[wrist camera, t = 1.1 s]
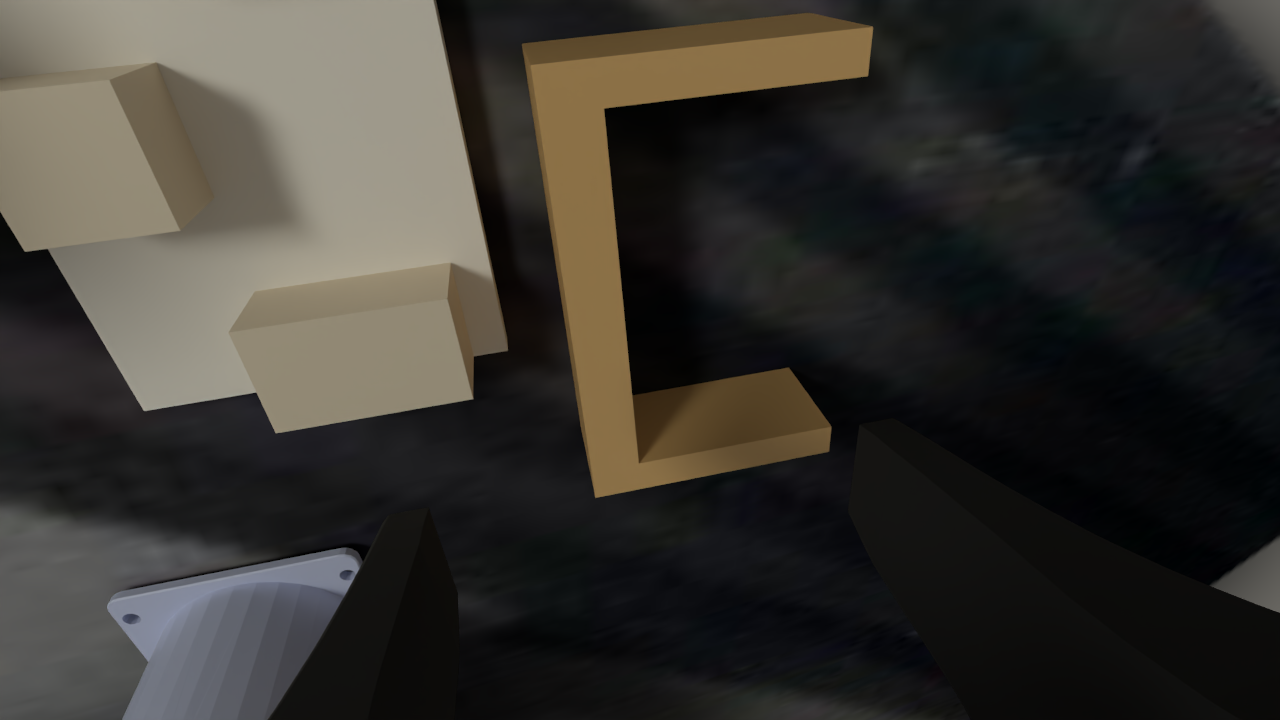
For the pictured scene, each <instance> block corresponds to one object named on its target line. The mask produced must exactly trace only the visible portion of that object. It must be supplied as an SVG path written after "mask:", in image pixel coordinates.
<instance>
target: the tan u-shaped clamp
mask: <svg viewBox="0 0 1280 720" xmlns="http://www.w3.org/2000/svg"><path fill="white" fill-rule="evenodd" d="M872 33H873V27H872V26H867V25H863V24H858V23H853V22H849V21H844V20H840V19H835V18H831V17H826V16H821V15H817V14H812V13H802V14H793V15H784V16H774V17H765V18H756V19H746V20H737V21H728V22H719V23H709V24H700V25H691V26H681V27H672V28H663V29H654V30H644V31H635V32H626V33H616V34H607V35H598V36H588V37H579V38H570V39H561V40H551V41H542V42H533V43H523V44H522V48H523V54H524V61H525V67H526V74H527V80H528V87H529V93H530V100H531V106H532V113H533V119H534V125H535V132H536V138H537V145H538V151H539V158H540V164H541V171H542V177H543V184H544V190H545V197H546V203H547V210H548V216H549V223H550V229H551V236H552V242H553V249H554V255H555V262H556V268H557V275H558V281H559V288H560V294H561V301H562V307H563V314H564V320H565V327H566V333H567V340H568V346H569V353H570V359H571V365H572V372H573V378H574V385H575V391H576V398H577V404H578V411H579V417H580V424H581V430H582V435H583V440H584V444H585V449H586V454H587V459H588V464H589V469H590V473H591V478H592V483H593V488H594V493H595V497H596V498H597V497H602V496H607V495H612V494H617V493H622V492H627V491H632V490H637V489H642V488H647V487H652V486H658V485H663V484H668V483H673V482H678V481H683V480H688V479H693V478H698V477H703V476H708V475H713V474H718V473H723V472H729V471H734V470H739V469H744V468H749V467H754V466H759V465H764V464H769V463H774V462H779V461H784V460H789V459H794V458H799V457H805V456H810V455H815V454H820V453H825V452H829V446H830V437H831V425H830V424H829V422H828V421H827V420H826V418H825V417H824V416H823V414H822V413H821V411H820V410H819V409H818V407H817V406H816V404H815V403H814V402H813V400H812V399H811V398H810V396H809V395H808V393H807V392H806V391H805V389H804V388H803V386H802V385H801V384H800V382H799V381H798V380H797V378H796V377H795V375H794V374H793V373H792V371H791V370H790V369H789V368H784V369H778V370H772V371H767V372H761V373H756V374H750V375H744V376H739V377H733V378H728V379H722V380H716V381H711V382H705V383H700V384H694V385H688V386H683V387H677V388H672V389H666V390H660V391H655V392H649V393H644V394H638V395H632V388H631V378H630V368H629V357H628V347H627V337H626V327H625V317H624V306H623V296H622V286H621V276H620V266H619V256H618V245H617V235H616V225H615V215H614V205H613V194H612V184H611V174H610V164H609V154H608V143H607V133H606V123H605V113H604V108H612V107H620V106H628V105H636V104H645V103H653V102H661V101H669V100H677V99H686V98H694V97H702V96H710V95H718V94H727V93H735V92H743V91H751V90H759V89H768V88H776V87H784V86H792V85H800V84H809V83H817V82H825V81H833V80H842V79H850V78H858V77H866V76H868V72H869V62H870V52H871V43H872Z"/></svg>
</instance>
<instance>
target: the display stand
mask: <svg viewBox="0 0 1280 720" xmlns="http://www.w3.org/2000/svg"><path fill="white" fill-rule="evenodd" d="M0 212H1V214H2V215H3V217H4V219H5V220H6V222H7V224H8V225H9V227H10V228H11V230H12V232H13V233H14V235H15V237H16V238H17V240H18V241H19V243H20V245H21V246H22V248H23V249H24V251H25V252H27V251H34V250H42V249H48V250H49V252H50V254H51V255H52V257H53V259H54V261H55V262H56V264H57V266H58V267H59V269H60V271H61V272H62V274H63V276H64V277H65V279H66V281H67V282H68V284H69V286H70V287H71V289H72V291H73V292H74V294H75V296H76V298H77V299H78V301H79V303H80V304H81V306H82V308H83V309H84V311H85V313H86V314H87V316H88V318H89V319H90V321H91V323H92V324H93V326H94V328H95V329H96V331H97V333H98V334H99V336H100V338H101V340H102V341H103V343H104V345H105V346H106V348H107V350H108V351H109V353H110V355H111V356H112V358H113V360H114V361H115V363H116V365H117V366H118V368H119V370H120V371H121V373H122V375H123V377H124V378H125V380H126V382H127V383H128V385H129V387H130V388H131V390H132V392H133V393H134V395H135V397H136V398H137V400H138V402H139V403H140V405H141V407H142V408H143V410H144V411H147V410H154V409H160V408H166V407H172V406H178V405H184V404H190V403H196V402H202V401H208V400H214V399H220V398H226V397H232V396H238V395H244V394H250V393H256V392H257V394H258V397H259V399H260V401H261V403H262V405H263V407H264V409H265V411H266V414H267V416H268V418H269V420H270V422H271V424H272V426H273V428H274V430H275V433H281V432H287V431H292V430H298V429H304V428H310V427H315V426H321V425H327V424H333V423H338V422H344V421H350V420H356V419H361V418H367V417H373V416H379V415H384V414H390V413H396V412H402V411H407V410H413V409H419V408H425V407H430V406H436V405H442V404H448V403H453V402H459V401H465V400H471V399H473V374H474V356H479V355H485V354H491V353H497V352H503V351H508V343H507V334H506V330H505V325H504V320H503V315H502V311H501V306H500V301H499V296H498V292H497V287H496V282H495V278H494V273H493V268H492V263H491V259H490V254H489V249H488V244H487V240H486V235H485V230H484V225H483V221H482V216H481V211H480V206H479V202H478V197H477V192H476V187H475V183H474V178H473V173H472V168H471V164H470V159H469V154H468V149H467V145H466V140H465V135H464V130H463V126H462V121H461V116H460V112H459V107H458V102H457V97H456V93H455V88H454V83H453V78H452V74H451V69H450V64H449V59H448V55H447V50H446V45H445V40H444V36H443V31H442V26H441V21H440V17H439V12H438V7H437V2H436V0H0Z"/></svg>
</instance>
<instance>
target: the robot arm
mask: <svg viewBox="0 0 1280 720" xmlns="http://www.w3.org/2000/svg"><path fill="white" fill-rule="evenodd" d="M848 512H849V514H850V517H851V519H852V521H853V523H854V525H855V527H856V530H857V532H858V534H859V536H860V538H861V540H862V542H863V544H864V546H865V548H866V550H867V552H868V554H869V557H870V559H871V561H872V563H873V564H874V566H875V568H876V569H877V571H878V572H879V574H880V576H881V577H882V579H883V580H884V582H885V584H886V585H887V587H888V588H889V590H890V591H891V593H892V594H893V596H894V598H895V599H896V601H897V602H898V604H899V605H900V607H901V609H902V610H903V612H904V613H905V615H906V616H907V618H908V619H909V621H910V622H911V624H912V625H913V627H914V629H915V630H916V632H917V633H918V635H919V636H920V638H921V639H922V641H923V642H924V644H925V645H926V647H927V649H928V650H929V652H930V653H931V655H932V656H933V658H934V659H935V661H936V662H937V664H938V665H939V667H940V669H941V670H942V672H943V673H944V675H945V676H946V678H947V679H948V681H949V683H950V684H951V686H952V688H953V689H954V691H955V693H956V694H957V696H958V698H959V699H960V701H961V703H962V704H963V706H964V708H965V710H966V711H967V713H968V715H969V717H970V719H971V720H1280V613H1278V612H1276V611H1273V610H1270V609H1267V608H1265V607H1262V606H1259V605H1256V604H1254V603H1252V602H1249V601H1246V600H1244V599H1241V598H1239V597H1236V596H1234V595H1231V594H1228V593H1226V592H1224V591H1221V590H1218V589H1216V588H1214V587H1211V586H1208V585H1206V584H1203V583H1201V582H1198V581H1196V580H1194V579H1191V578H1189V577H1187V576H1184V575H1182V574H1180V573H1177V572H1175V571H1172V570H1170V569H1168V568H1166V567H1163V566H1161V565H1159V564H1157V563H1155V562H1152V561H1150V560H1148V559H1146V558H1144V557H1142V556H1139V555H1137V554H1135V553H1133V552H1131V551H1129V550H1126V549H1124V548H1122V547H1120V546H1118V545H1116V544H1113V543H1111V542H1109V541H1107V540H1105V539H1103V538H1101V537H1099V536H1097V535H1095V534H1093V533H1091V532H1089V531H1087V530H1085V529H1083V528H1082V527H1080V526H1078V525H1076V524H1074V523H1072V522H1070V521H1068V520H1066V519H1065V518H1063V517H1061V516H1059V515H1057V514H1055V513H1053V512H1051V511H1049V510H1048V509H1046V508H1044V507H1042V506H1040V505H1039V504H1037V503H1035V502H1033V501H1031V500H1030V499H1028V498H1026V497H1024V496H1022V495H1021V494H1019V493H1017V492H1016V491H1014V490H1012V489H1010V488H1009V487H1007V486H1005V485H1003V484H1002V483H1000V482H998V481H997V480H995V479H993V478H992V477H990V476H988V475H987V474H985V473H983V472H982V471H980V470H978V469H977V468H975V467H973V466H972V465H970V464H968V463H967V462H965V461H963V460H962V459H960V458H959V457H957V456H955V455H954V454H952V453H950V452H949V451H947V450H946V449H944V448H942V447H941V446H939V445H937V444H936V443H934V442H933V441H931V440H929V439H928V438H926V437H924V436H923V435H921V434H919V433H918V432H916V431H914V430H913V429H911V428H909V427H908V426H906V425H904V424H903V423H901V422H899V421H897V420H895V419H894V418H890V419H885V420H880V421H875V422H870V423H864V424H859V432H858V439H857V447H856V454H855V462H854V469H853V477H852V484H851V492H850V499H849V507H848ZM344 570H351V571H352V572H347V571H344ZM107 609H108V611H109V613H110V614H111V615H112V616H113V618H114V619H115V620H116V621H117V623H118V624H119V625H120V626H121V628H122V629H123V630H124V632H125V633H126V634H127V635H128V637H129V638H130V639H131V640H132V642H133V643H134V644H135V645H136V647H137V648H138V649H139V650H140V652H141V653H142V654H143V656H144V657H145V658H146V659H147V661H148V664H147V667H146V669H145V671H144V673H143V675H142V677H141V680H140V682H139V684H138V686H137V688H136V691H135V693H134V695H133V697H132V699H131V701H130V704H129V706H128V708H127V710H126V712H125V714H124V717H123V719H122V720H454V719H455V707H456V695H457V682H458V670H459V656H460V653H459V617H458V593H457V590H456V587H455V584H454V581H453V578H452V575H451V572H450V569H449V566H448V563H447V560H446V557H445V554H444V551H443V548H442V546H441V543H440V540H439V537H438V534H437V531H436V528H435V525H434V522H433V519H432V516H431V513H430V510H429V507H428V508H423V509H418V510H413V511H407V512H402V513H397V514H392V515H388V517H387V518H386V519H385V520H384V522H383V524H382V526H381V528H380V530H379V532H378V534H377V536H376V537H375V539H374V541H373V543H372V545H371V547H370V549H369V551H368V553H367V555H366V557H365V559H364V561H363V562H362V559H361V557H360V555H359V554H358V552H357V551H355V550H353V549H351V548H338V549H333V550H328V551H323V552H318V553H313V554H308V555H303V556H298V557H292V558H287V559H282V560H277V561H272V562H267V563H262V564H257V565H252V566H247V567H242V568H237V569H232V570H227V571H222V572H216V573H211V574H206V575H201V576H196V577H191V578H186V579H181V580H176V581H171V582H166V583H161V584H156V585H151V586H146V587H140V588H135V589H130V590H125V591H121V592H118V593H116V594H114V595H113V596H112V598H111V600H110V601H109V603H108V606H107Z"/></svg>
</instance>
